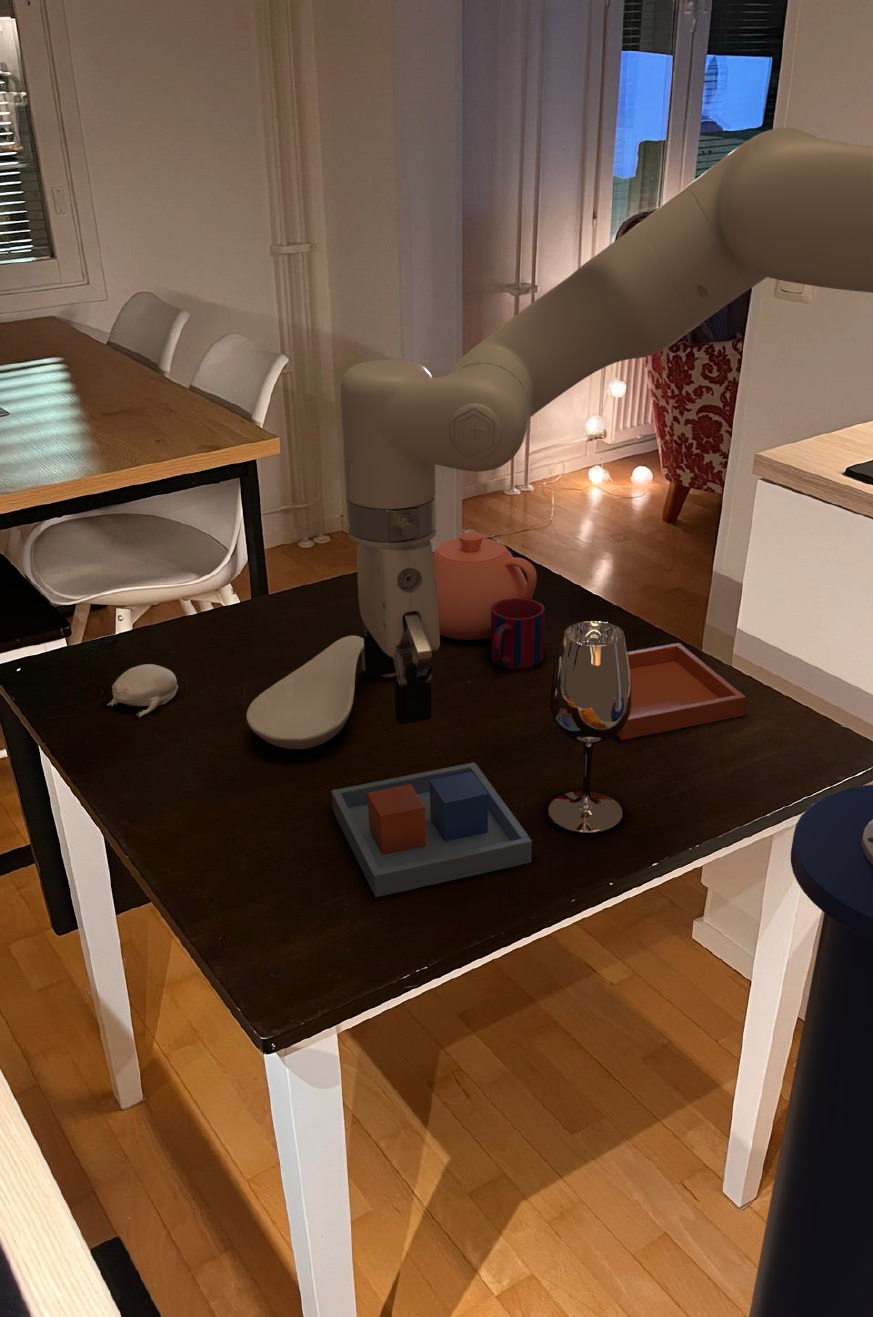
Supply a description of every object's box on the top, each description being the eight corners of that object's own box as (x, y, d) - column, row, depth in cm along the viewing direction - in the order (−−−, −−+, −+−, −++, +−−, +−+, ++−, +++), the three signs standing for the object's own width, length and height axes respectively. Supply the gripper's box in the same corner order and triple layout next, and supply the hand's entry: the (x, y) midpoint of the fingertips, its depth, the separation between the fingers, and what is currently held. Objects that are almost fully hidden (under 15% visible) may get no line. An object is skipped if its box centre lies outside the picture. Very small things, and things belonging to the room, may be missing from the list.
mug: (552, 653, 152) (554, 604, 148) (513, 684, 145) (514, 633, 141) (507, 642, 155) (508, 593, 152) (467, 671, 148) (466, 621, 144)
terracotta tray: (743, 715, 137) (746, 696, 135) (621, 740, 133) (622, 720, 131) (677, 660, 149) (679, 642, 148) (564, 681, 145) (565, 662, 144)
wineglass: (534, 802, 122) (538, 624, 112) (601, 786, 124) (612, 610, 114) (567, 842, 116) (575, 657, 105) (638, 824, 118) (652, 642, 108)
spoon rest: (318, 773, 128) (312, 715, 124) (229, 750, 133) (221, 693, 129) (420, 682, 146) (418, 629, 142) (338, 664, 151) (334, 612, 147)
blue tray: (531, 862, 113) (532, 841, 112) (375, 897, 109) (373, 875, 108) (474, 782, 126) (474, 761, 125) (332, 810, 122) (331, 790, 120)
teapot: (366, 629, 160) (361, 541, 153) (420, 588, 171) (417, 504, 165) (516, 658, 151) (517, 566, 144) (562, 613, 163) (565, 525, 156)
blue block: (488, 832, 117) (488, 794, 114) (445, 841, 116) (444, 803, 113) (472, 809, 120) (471, 771, 118) (430, 817, 119) (429, 780, 117)
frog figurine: (140, 720, 139) (135, 691, 137) (100, 705, 143) (95, 677, 141) (188, 693, 145) (184, 665, 143) (149, 680, 148) (144, 652, 146)
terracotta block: (426, 845, 115) (425, 807, 113) (382, 855, 114) (379, 816, 112) (412, 821, 119) (410, 783, 116) (369, 830, 118) (366, 792, 115)
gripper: (468, 545, 94) (467, 733, 103) (403, 481, 108) (407, 651, 117) (377, 557, 92) (385, 748, 101) (323, 490, 106) (334, 663, 115)
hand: (397, 696), depth 109 cm, fingers open, 9 cm apart
